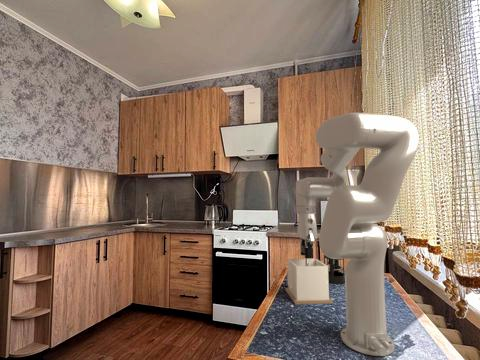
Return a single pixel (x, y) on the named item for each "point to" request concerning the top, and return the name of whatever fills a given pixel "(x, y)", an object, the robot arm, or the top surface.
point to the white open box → (308, 282)
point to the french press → (335, 271)
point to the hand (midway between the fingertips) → (306, 256)
